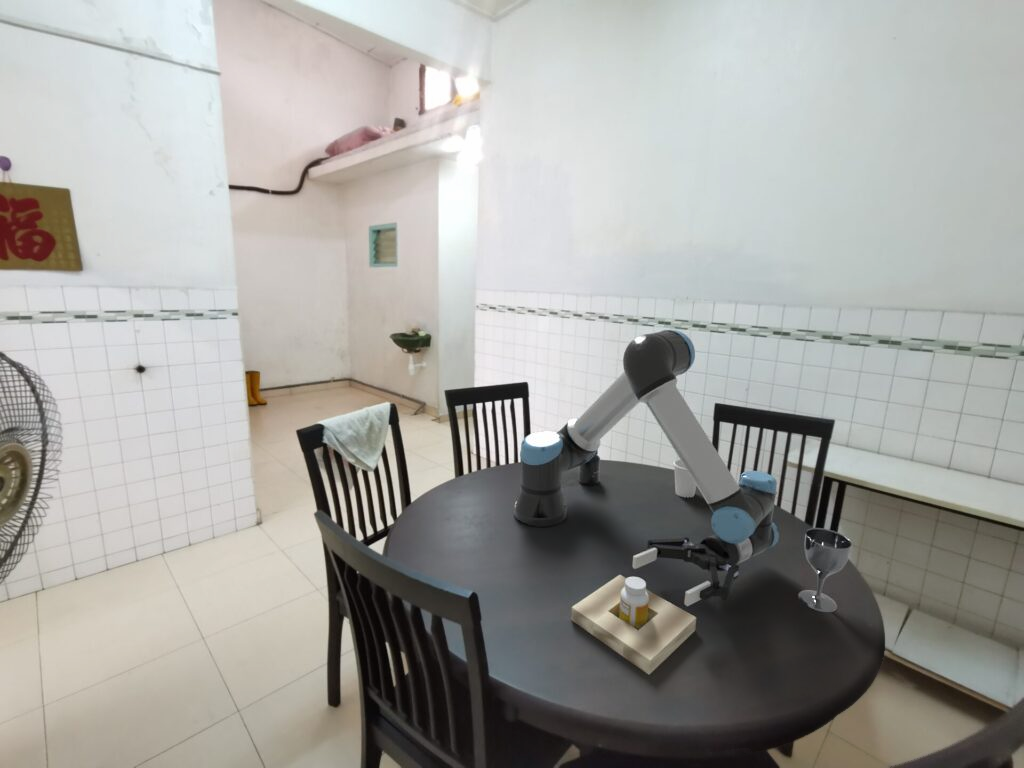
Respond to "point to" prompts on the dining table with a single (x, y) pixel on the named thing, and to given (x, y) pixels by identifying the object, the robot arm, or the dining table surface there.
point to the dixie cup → (683, 481)
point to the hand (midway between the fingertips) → (658, 579)
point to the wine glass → (824, 564)
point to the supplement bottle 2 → (634, 602)
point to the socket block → (635, 645)
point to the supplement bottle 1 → (590, 471)
